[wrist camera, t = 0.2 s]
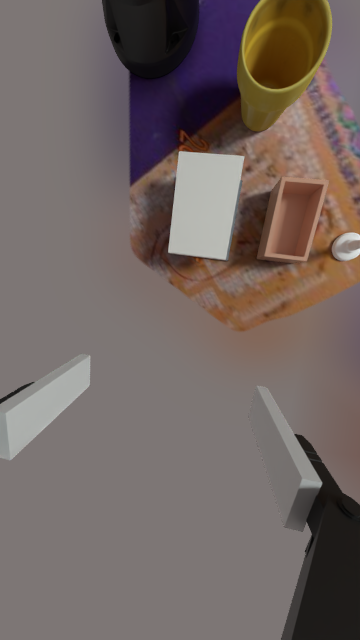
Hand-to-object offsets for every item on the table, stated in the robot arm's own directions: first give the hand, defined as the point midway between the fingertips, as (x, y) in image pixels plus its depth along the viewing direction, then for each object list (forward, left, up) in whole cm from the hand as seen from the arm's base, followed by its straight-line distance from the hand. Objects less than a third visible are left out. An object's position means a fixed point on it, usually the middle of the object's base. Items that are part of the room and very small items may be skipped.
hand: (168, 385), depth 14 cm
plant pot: (-37, +7, -28) cm, 47 cm away
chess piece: (-17, +27, -28) cm, 42 cm away
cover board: (-19, 0, -22) cm, 30 cm away
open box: (-19, +15, -27) cm, 37 cm away
